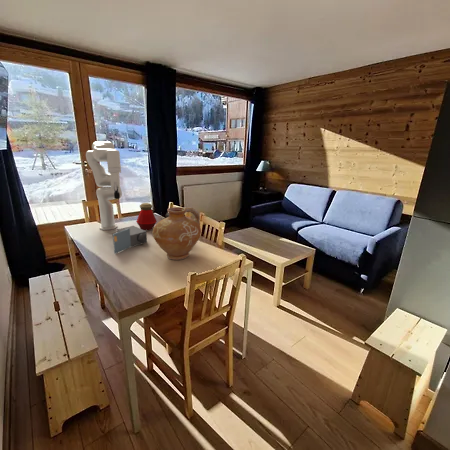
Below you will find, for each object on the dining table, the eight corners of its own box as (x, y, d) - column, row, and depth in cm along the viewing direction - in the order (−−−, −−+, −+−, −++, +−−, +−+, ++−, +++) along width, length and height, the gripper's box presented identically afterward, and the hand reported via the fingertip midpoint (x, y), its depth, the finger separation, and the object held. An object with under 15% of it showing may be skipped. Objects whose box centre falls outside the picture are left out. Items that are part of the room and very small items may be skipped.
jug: (150, 249, 159) (148, 203, 150) (193, 244, 170) (193, 201, 161) (157, 269, 135) (155, 216, 125) (207, 262, 146) (208, 212, 136)
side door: (116, 254, 150) (114, 234, 146) (114, 253, 150) (112, 234, 146) (131, 247, 160) (130, 228, 156) (130, 246, 161) (128, 228, 157)
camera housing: (118, 240, 171) (117, 229, 168) (134, 236, 180) (133, 225, 177) (132, 248, 160) (131, 236, 157) (149, 243, 169) (148, 232, 166)
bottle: (133, 229, 192) (131, 204, 186) (143, 224, 205) (141, 200, 198) (151, 232, 188) (149, 206, 182) (160, 227, 201) (159, 203, 194)
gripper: (108, 168, 163) (111, 196, 169) (107, 171, 150) (110, 201, 155) (121, 168, 166) (123, 196, 171) (120, 171, 152) (123, 200, 158)
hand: (117, 198), depth 163 cm, fingers closed
